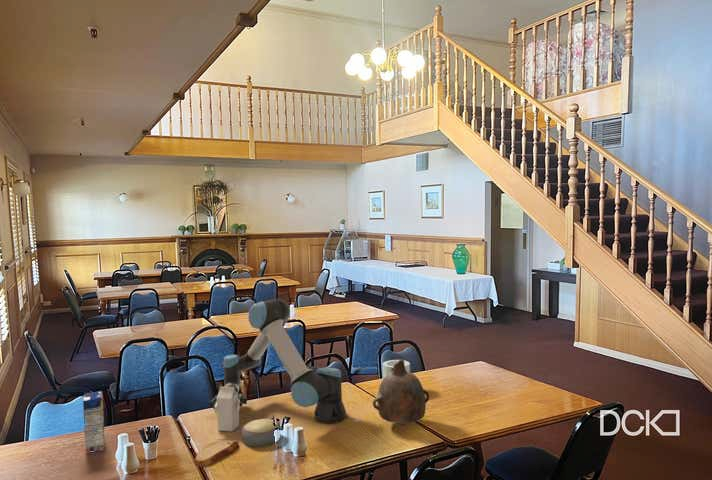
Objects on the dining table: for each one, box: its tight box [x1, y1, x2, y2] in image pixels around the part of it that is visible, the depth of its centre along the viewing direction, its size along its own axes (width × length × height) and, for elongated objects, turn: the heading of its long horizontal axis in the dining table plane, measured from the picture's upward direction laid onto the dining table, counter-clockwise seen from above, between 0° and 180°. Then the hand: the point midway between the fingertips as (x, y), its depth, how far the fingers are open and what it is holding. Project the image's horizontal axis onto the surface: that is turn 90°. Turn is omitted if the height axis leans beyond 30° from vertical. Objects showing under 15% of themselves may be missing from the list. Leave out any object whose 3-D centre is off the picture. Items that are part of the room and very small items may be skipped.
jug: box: [372, 359, 430, 426], centre depth 218 cm, size 24×21×30 cm
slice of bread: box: [194, 438, 239, 468], centre depth 197 cm, size 18×18×4 cm
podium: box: [241, 418, 281, 448], centre depth 210 cm, size 16×16×6 cm
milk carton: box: [216, 386, 240, 432], centre depth 223 cm, size 7×7×19 cm
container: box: [382, 359, 411, 380], centre depth 266 cm, size 16×16×15 cm
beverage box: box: [82, 390, 106, 453], centre depth 208 cm, size 7×11×22 cm, turn 27°
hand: (227, 408), depth 218 cm, fingers closed on milk carton, 9 cm apart
